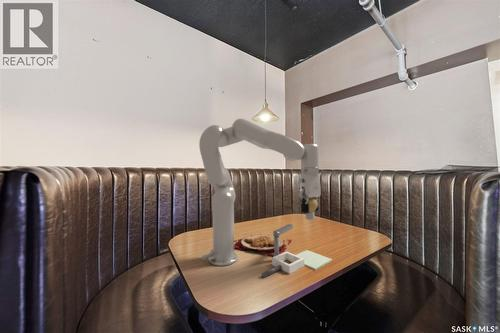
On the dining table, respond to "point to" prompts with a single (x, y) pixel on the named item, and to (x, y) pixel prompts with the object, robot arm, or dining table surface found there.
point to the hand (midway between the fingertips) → (310, 211)
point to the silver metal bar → (282, 230)
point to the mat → (313, 259)
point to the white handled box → (279, 259)
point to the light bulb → (311, 208)
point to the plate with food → (260, 244)
